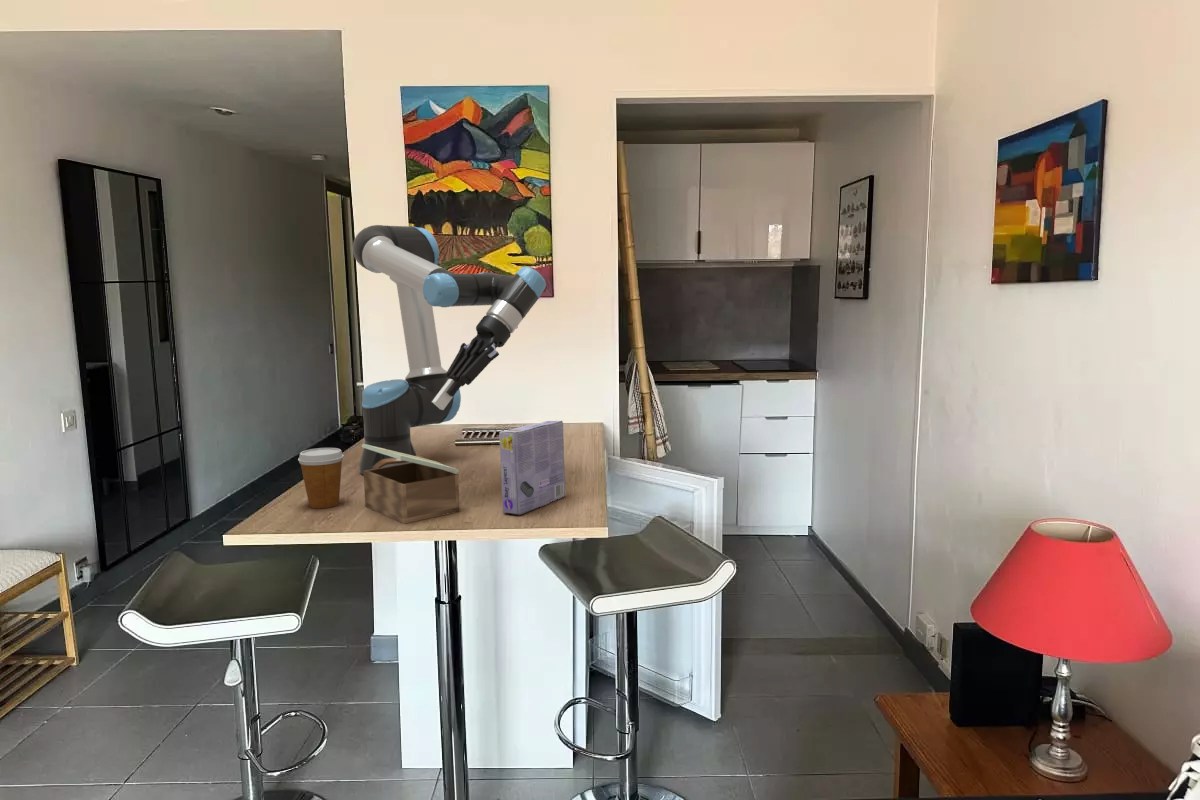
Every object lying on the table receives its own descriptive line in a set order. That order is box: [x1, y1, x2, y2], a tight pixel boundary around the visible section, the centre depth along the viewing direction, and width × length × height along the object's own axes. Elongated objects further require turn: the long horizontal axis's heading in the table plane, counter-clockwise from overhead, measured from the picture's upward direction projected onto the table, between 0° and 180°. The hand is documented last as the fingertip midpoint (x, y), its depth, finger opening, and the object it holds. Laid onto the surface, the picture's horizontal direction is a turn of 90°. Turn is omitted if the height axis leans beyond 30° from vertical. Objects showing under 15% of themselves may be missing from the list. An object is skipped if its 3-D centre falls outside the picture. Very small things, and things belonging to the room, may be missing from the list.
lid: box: [361, 443, 460, 474], centre depth 169 cm, size 18×14×1 cm
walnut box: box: [363, 462, 461, 525], centre depth 170 cm, size 18×13×8 cm
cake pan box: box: [498, 420, 566, 516], centre depth 172 cm, size 19×5×18 cm, turn 149°
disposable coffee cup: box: [297, 447, 345, 509], centre depth 175 cm, size 10×10×12 cm
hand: (437, 405), depth 173 cm, fingers closed
